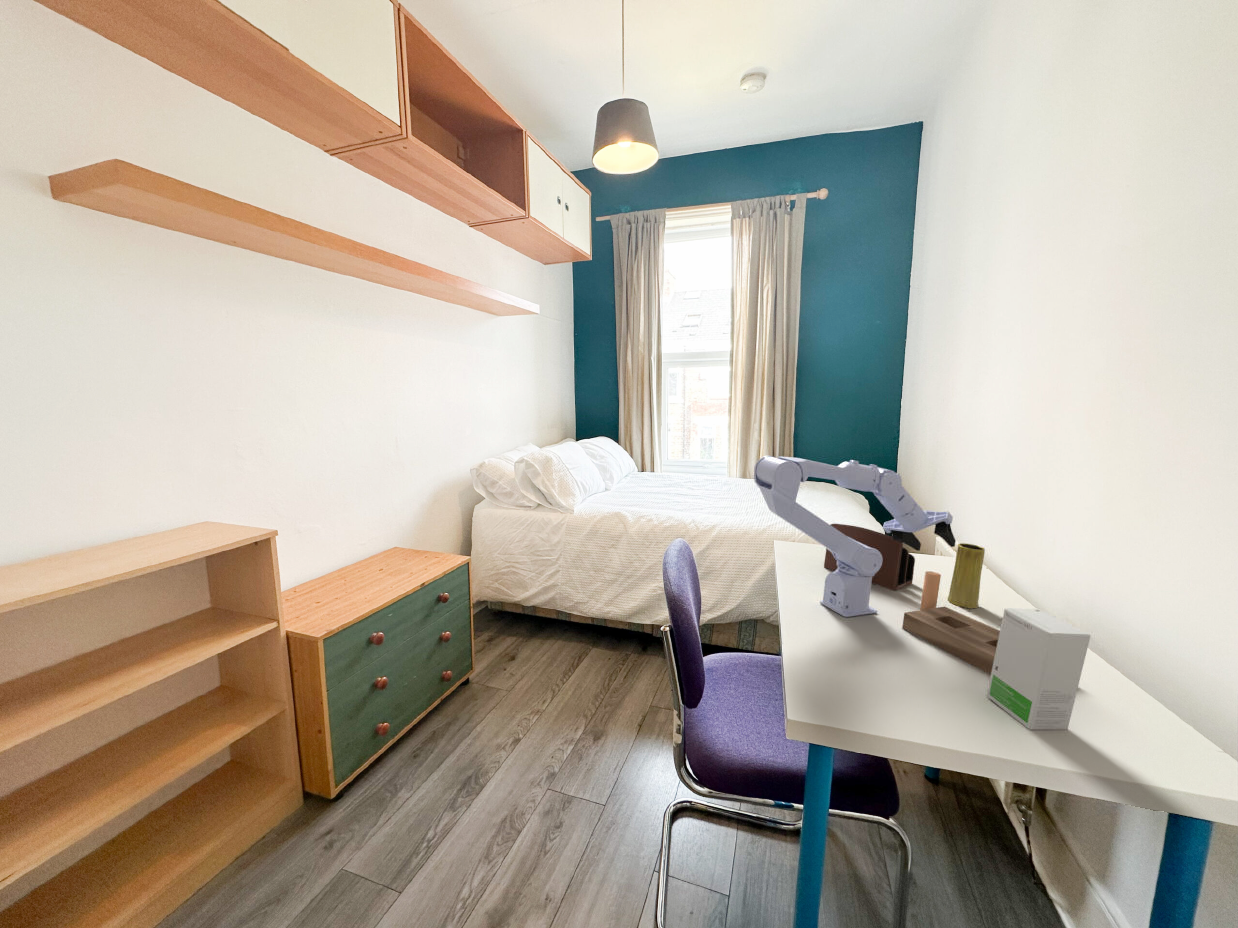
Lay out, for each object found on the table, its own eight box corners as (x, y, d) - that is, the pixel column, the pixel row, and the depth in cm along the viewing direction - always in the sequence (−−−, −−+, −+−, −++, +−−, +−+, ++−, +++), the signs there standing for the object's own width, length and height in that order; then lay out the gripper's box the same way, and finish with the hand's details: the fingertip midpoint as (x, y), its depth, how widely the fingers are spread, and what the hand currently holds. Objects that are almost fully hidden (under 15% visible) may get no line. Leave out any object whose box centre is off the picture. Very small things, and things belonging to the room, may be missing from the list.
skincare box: (985, 696, 79) (999, 606, 77) (1022, 696, 80) (1038, 607, 77) (1032, 732, 71) (1050, 632, 69) (1073, 731, 71) (1092, 632, 69)
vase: (984, 609, 114) (993, 551, 112) (958, 607, 114) (967, 549, 112) (966, 598, 120) (975, 543, 118) (941, 597, 120) (949, 541, 118)
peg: (929, 614, 110) (934, 576, 109) (917, 608, 113) (922, 571, 111) (938, 612, 111) (944, 575, 110) (926, 607, 114) (931, 570, 112)
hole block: (1017, 688, 82) (1020, 668, 81) (902, 628, 102) (904, 612, 102) (1061, 677, 86) (1064, 658, 85) (942, 621, 106) (944, 606, 106)
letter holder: (895, 591, 123) (902, 538, 121) (822, 567, 139) (828, 520, 137) (912, 584, 129) (919, 532, 127) (841, 561, 144) (846, 516, 142)
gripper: (939, 487, 106) (971, 527, 109) (876, 501, 118) (907, 536, 121) (934, 511, 103) (968, 552, 106) (870, 522, 114) (902, 558, 117)
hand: (935, 545), depth 113 cm, fingers open, 7 cm apart
